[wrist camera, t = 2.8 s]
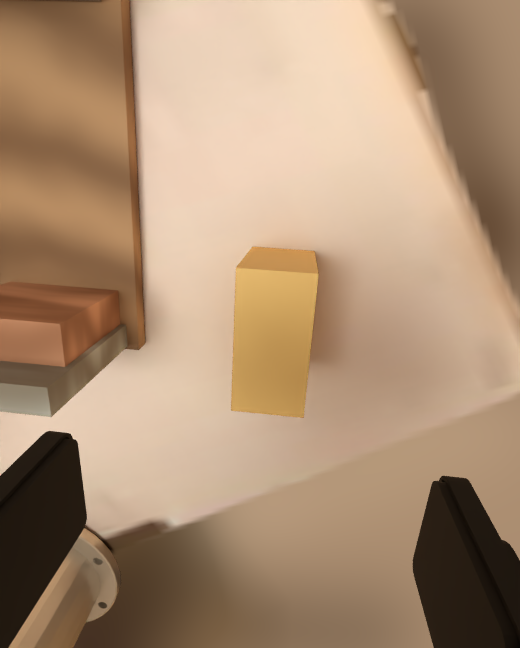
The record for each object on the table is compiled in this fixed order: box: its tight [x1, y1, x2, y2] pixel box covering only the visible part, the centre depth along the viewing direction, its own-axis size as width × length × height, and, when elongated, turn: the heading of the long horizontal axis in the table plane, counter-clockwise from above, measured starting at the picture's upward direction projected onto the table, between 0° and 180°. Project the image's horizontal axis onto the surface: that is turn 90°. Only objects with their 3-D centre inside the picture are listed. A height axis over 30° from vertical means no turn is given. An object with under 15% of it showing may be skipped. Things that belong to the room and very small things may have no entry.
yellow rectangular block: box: [231, 247, 319, 418], centre depth 24 cm, size 8×4×7 cm, turn 177°
